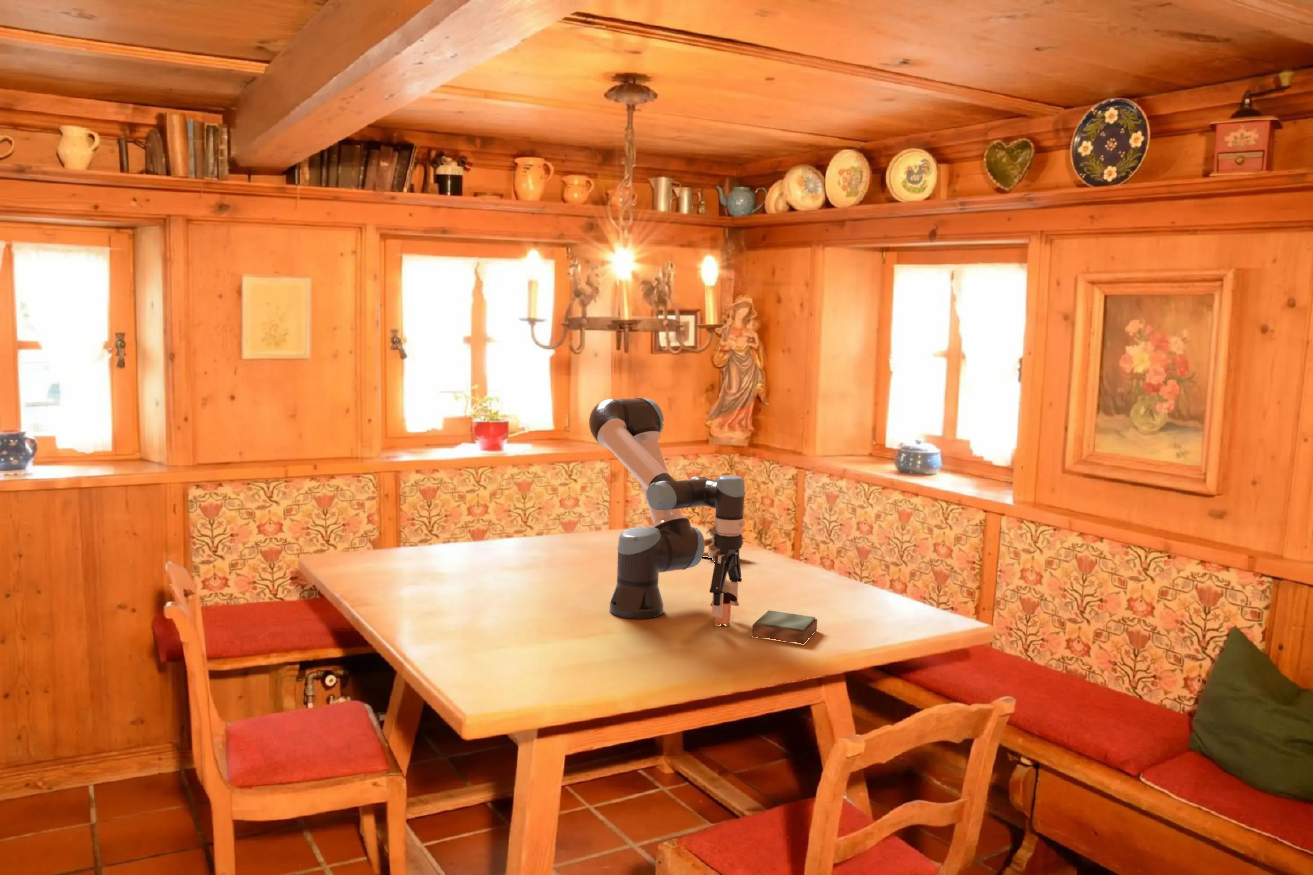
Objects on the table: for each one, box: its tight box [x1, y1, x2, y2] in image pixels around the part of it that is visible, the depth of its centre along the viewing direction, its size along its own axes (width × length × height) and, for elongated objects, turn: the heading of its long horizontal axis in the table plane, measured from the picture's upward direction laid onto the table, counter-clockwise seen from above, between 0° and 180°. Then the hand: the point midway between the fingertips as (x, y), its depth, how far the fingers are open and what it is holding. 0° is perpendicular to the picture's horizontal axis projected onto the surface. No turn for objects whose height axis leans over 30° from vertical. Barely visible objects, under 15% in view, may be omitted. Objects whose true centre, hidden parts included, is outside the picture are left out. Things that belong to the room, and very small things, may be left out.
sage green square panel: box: [751, 609, 818, 644], centre depth 279 cm, size 14×14×4 cm
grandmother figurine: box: [709, 579, 740, 625], centre depth 285 cm, size 8×4×13 cm, turn 106°
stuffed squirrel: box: [703, 523, 745, 562], centre depth 362 cm, size 10×14×13 cm
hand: (724, 610), depth 285 cm, fingers open, 12 cm apart
